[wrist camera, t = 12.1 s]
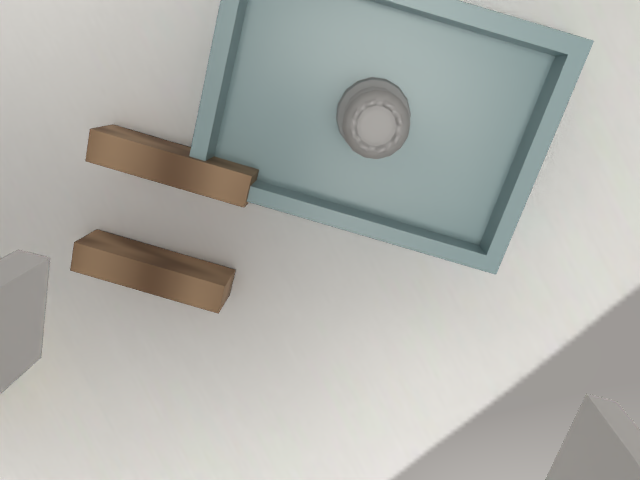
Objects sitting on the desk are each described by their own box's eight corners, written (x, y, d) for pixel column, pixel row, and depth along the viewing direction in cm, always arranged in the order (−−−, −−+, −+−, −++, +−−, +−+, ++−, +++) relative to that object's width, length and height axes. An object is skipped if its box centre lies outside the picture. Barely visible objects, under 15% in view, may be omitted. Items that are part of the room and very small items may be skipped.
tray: (196, 175, 34) (183, 183, 32) (244, -55, 30) (234, -67, 28) (486, 260, 35) (496, 274, 32) (575, 43, 30) (594, 40, 28)
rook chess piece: (334, 79, 31) (325, 79, 24) (409, 74, 31) (425, 73, 23) (338, 153, 33) (331, 177, 25) (410, 150, 32) (425, 172, 25)
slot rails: (92, 255, 37) (70, 270, 34) (112, 124, 34) (89, 128, 31) (229, 295, 37) (218, 313, 34) (260, 168, 34) (251, 176, 31)
